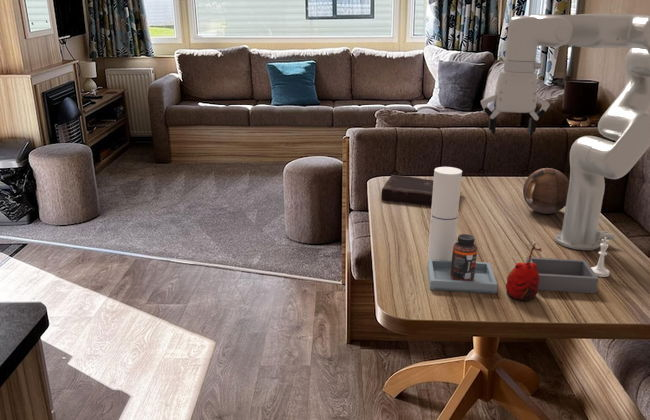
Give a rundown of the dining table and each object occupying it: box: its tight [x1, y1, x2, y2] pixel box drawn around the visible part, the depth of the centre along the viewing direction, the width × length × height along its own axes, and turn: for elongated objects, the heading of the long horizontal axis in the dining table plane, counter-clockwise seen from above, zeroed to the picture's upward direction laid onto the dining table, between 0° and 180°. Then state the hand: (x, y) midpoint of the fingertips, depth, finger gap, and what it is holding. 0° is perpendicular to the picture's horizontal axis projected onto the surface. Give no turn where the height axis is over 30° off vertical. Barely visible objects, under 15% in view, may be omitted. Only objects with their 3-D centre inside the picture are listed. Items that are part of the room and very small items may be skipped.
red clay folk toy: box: [505, 243, 542, 302], centre depth 151 cm, size 8×7×15 cm
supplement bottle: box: [451, 233, 478, 281], centre depth 159 cm, size 6×6×11 cm
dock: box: [525, 256, 599, 294], centre depth 161 cm, size 15×11×4 cm
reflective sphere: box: [522, 167, 570, 215], centre depth 209 cm, size 15×15×15 cm
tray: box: [427, 258, 498, 295], centre depth 161 cm, size 16×13×2 cm
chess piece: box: [590, 237, 610, 278], centre depth 165 cm, size 5×5×10 cm
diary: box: [380, 174, 434, 207], centre depth 224 cm, size 19×25×5 cm
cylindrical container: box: [427, 166, 463, 260], centre depth 170 cm, size 7×7×25 cm
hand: (511, 133), depth 166 cm, fingers open, 9 cm apart
